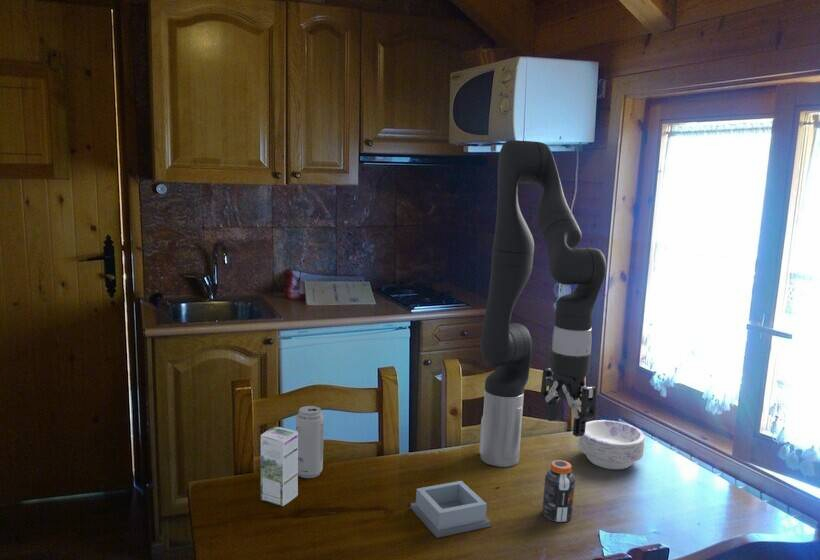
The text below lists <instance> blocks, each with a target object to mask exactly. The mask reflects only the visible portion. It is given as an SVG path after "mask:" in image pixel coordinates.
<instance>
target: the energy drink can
mask: <svg viewBox="0 0 820 560" xmlns="http://www.w3.org/2000/svg"><path fill="white" fill-rule="evenodd" d="M298 410H299V411H298V413H297V415H296V421H295V422H296V423H295V431H297V432H298V477H301V478H304V479H312V478H314V479H315V478H317V477H318V476H320V475H321V473H322V472H323V469H324V468H323V467H324V465H323V464H324V429H325V428H324V423H325V420H324V419H325V416H324V414H323V412H322V408H321V407H319V406H316V405H305V406H301V407H300V408H299V409H298Z"/></svg>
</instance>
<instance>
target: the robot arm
mask: <svg viewBox="0 0 820 560" xmlns="http://www.w3.org/2000/svg"><path fill="white" fill-rule="evenodd" d="M497 162H498V163H497V198H496V199H497V200H496V201H497V203H496V205H497V206H496V217H495V218H496V219H495V220H496V221H495V228H494V229H495V230H494V239H493V247H492V253H491V268H490V269H491V271H490V279H489V280H490V281H489V282H490V283H489V288H488V297H487V304H486V307H485V308H486V309H485V315H484V318H483V319H484V320H483V323H482V324H483V325H482V329H481V334H480V351H481V356H482V358H483V360H484V361H485V363H487V365H489V366H491V367H496V369H495V370H494V371H492V372H491V373H490V374H489V375H487V377H486V379H485V382H484V396H483V413H482V414H483V415H482V416H481V420H480V421H481V422H480V436H479V449H478V450H479V452H478V454H480V455H479V457H480V460H481V461H482V462H484V463H485V464H486V465H490V466H494V467H500V468H509V467H513V466H516V465H517V464H518V463H519V461H520V449H521V438H522V424H523V423H522V422H523V410H524V396H525V393H524V392H525V387H526V385H527V383H528V381H529V376H530V369H531V360H532V354H533V353H532V351H533V343H532V342H533V341H532V336H531V334H530V331H529V329H528V328H527V327H526V326H525V325H523V324H521V323H517V322H516V323H515V322H514V323H513V322H512V323H511V319H512V314H513V309H514V308H515V304H516V303H517V300H518V298H519V297H520V295H521V293H522V292H523V290H524V288H525V287H526V285H527V283H528V281H529V279H530V276H531V273H532V272H533V271H532V270H533V263H534V255H535V253H534V252H535V241H534V237H533V234H532V232H531V231H530V228H529V226H528V224H527V222H526V220H525V218H524V216H523V214H522V211H521V207H520V204H519V198H518V197H519V195H518V192H519V191H518V190H519V189H518V185H519V184H528V185H529V184H530V185H531V184H536V185H537V186H538V187H539V188H540V190H541V192H542V194H541V197H540V200H539V203H538V206H537V211H536V221H537V225H538V228H539V229H540V231H541V234H542V235H543V236H542V237H543V238H544V241H545V242H546V246H547V253H548V265H549V272H550V276H551V277H552V279H553V280H554V281H556V282H557V283H558V284H561V285H565V286H567V285H568V286H569V285H577V287H576V288H575V290H574V291H573V292H571V293H569V294H566V295H562V296H560V297H559V298H558V299H557V301H556V305H555V314H554V315H555V316H554V327H553V330H552V331H553V332H552V338H551V352H550V363H549V364H550V365H549V368H544V369H542V370H543V371H542V375H541V376H542V377H541V378H542V379H541V387H540V395H541V397H544V398H545V402H546V420H547V421H549V422H552V421H553V422H554V421H557V420H558V418H559V417H558V416H559V415H558V414H559V403H560V402H558V401H559V400H560V399H561V398H562V399H563V400H565V401H566V402H567V403H568V406H569V408H571V410H572V412H573V415H574V418H573V427H572V435H573V436H574V437H576V438H577V437H578V438H579V436H583V435H584V433H585V427H586V422H587V419H591V418H595V416H596V402H597V401H596V400H597V388H596V387H595V386H588V385H586V383H585V382H586V381H585V378H586V377H587V376H588V375H589V373H590V364H591V353H592V343H593V342H592V340H593V338H592V337H593V336H592V328H593V327H592V326H593V325H592V324H593V315H594V308H595V304H596V301H597V298H598V296H599V294H600V291H601V288H602V286H603V283H604V280H605V277H606V273H607V261H606V257H605V255H604V253H603V252H602V251H601V250H600V249H598V248H595V247H578V246H579V244H580V243H581V240H582V237H583V235H582V231H581V229H580V226H579V225H578V222H577V220H576V219H575V216H574V214H573V212H572V210H571V209H570V207H569V205H568V203H567V202H568V201H567V199H566V197H565V193H564V190H563V185H562V182H561V179H560V174H559V170H558V167H557V164H556V161H555V158H554V154H553V153H552V150H551V148H550V147H549V146H548V145H547V144H546V143H543V142H540V141H534V140H533V141H531V140H517V139H516V140H515V139H510V140H506V141H505V142H503V144H502V146H501V148H500V150H499V155H498V161H497ZM547 388H548V389H547ZM578 399H579V401H577V400H578ZM579 408H580V410H579ZM588 408H589V409H588Z"/></svg>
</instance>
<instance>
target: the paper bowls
mask: <svg viewBox="0 0 820 560" xmlns="http://www.w3.org/2000/svg"><path fill="white" fill-rule="evenodd" d="M645 439H646V437H645V434H644V432H643V431H642V430H641V429H639V428H637V427H635V426H634V425H632V424H631V425H630V424H628V423H625V422H621V421H617V420H609V419H608V420H606V419H599V420H598V419H595V420H590V421H586V427H585V433H584V435H583V436H578V449H579V450H580V451H581V452H582V453H583V454H584V455H586V457H587V460H589V462H591V463H592V464H593V465H595V466H597V467H599V468H603V469H607V470H624V469H627V468H629V467H631V466H632V465H633V463H636V462H637V461H640V460H641V459H643V456H644V453H645V450H644V449H645Z"/></svg>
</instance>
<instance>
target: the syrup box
mask: <svg viewBox="0 0 820 560" xmlns="http://www.w3.org/2000/svg"><path fill="white" fill-rule="evenodd" d="M298 480H299V475H298V432H297V431H296V430H293V429H289V428H284V427H280V426H274V427H272V428H269V429H268V430H266V431H265V432H263V433H262V434H260V501H263V502H266V503H268V504H269V503H270V504H273V505H277V506H280V507H284V506H285V505H287V504H289V503H290V502H291V501H293V500H294V499H295V498H297V497H298V495H299V487H298V486H299V483H298V482H299V481H298Z"/></svg>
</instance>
